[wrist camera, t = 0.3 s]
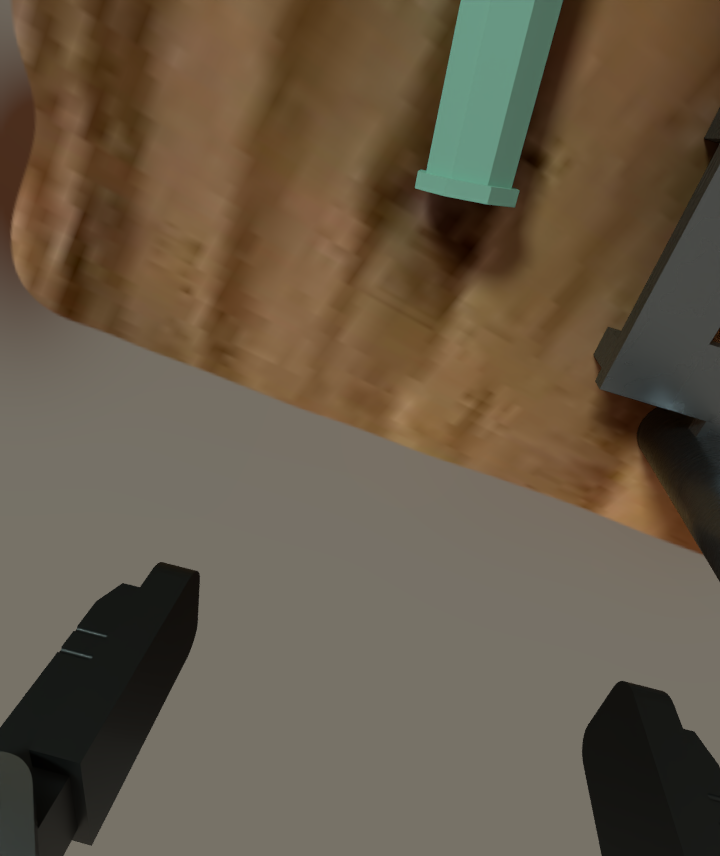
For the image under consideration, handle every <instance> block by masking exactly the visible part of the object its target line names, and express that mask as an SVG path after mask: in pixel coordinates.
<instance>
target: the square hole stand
mask: <svg viewBox="0 0 720 856" xmlns="http://www.w3.org/2000/svg"><path fill="white" fill-rule="evenodd" d="M704 139H708V140H711V141H714V142H718V143H720V108H719V110H718V112H717V114H716V116H715V118H714V120H713V122H712V124H711V126H710V128H709V130H708V132H707V134H706V136H705V138H704ZM719 328H720V144H719V146H718V148H717V150H716V152H715V154H714V156H713V158H712V159H711V161H710V163H709V165H708V167H707V169H706V171H705V173H704V175H703V177H702V178H701V180H700V182H699V184H698V186H697V188H696V190H695V192H694V194H693V196H692V197H691V199H690V201H689V203H688V205H687V207H686V209H685V211H684V213H683V215H682V216H681V218H680V220H679V222H678V224H677V226H676V228H675V230H674V232H673V234H672V235H671V237H670V239H669V241H668V243H667V245H666V247H665V249H664V251H663V253H662V255H661V256H660V258H659V260H658V262H657V264H656V266H655V268H654V270H653V272H652V274H651V275H650V277H649V279H648V281H647V283H646V285H645V287H644V289H643V291H642V293H641V294H640V296H639V298H638V300H637V302H636V304H635V306H634V308H633V310H632V312H631V313H630V315H629V317H628V319H627V321H626V323H625V325H624V327H623V329H622V331H620V330H617V329H613V328H610V327H608V328H607V329H606V331H605V333H604V335H603V337H602V339H601V341H600V343H599V345H598V347H597V349H596V351H595V353H594V357H595V358H596V360H597V361H598V363H599V365H600V366H601V368H602V369H601V371H600V372H599V374H598V376H597V378H596V380H595V382H596V383H597V385H598V387H599V389H601V390H605V391H608V392H611V393H615V394H618V395H621V396H625V397H628V398H631V399H634V400H638V401H641V402H644V403H648V404H651V405H654V406H658V407H657V408H655V409H654V410H652V411H651V412H650V413H649V414H648V415H647V416H646V417H645V418H644V419H643V421H642V422H641V424H640V426H639V428H638V432H637V442H638V445H639V447H640V449H641V451H642V452H643V454H644V456H645V457H646V459H647V461H648V462H649V464H650V466H651V467H652V469H653V471H654V472H655V474H656V476H657V477H658V479H659V481H660V482H661V484H662V486H663V487H664V489H665V491H666V493H667V494H668V496H669V498H670V499H671V501H672V503H673V504H674V506H675V508H676V509H677V511H678V513H679V514H680V516H681V518H682V519H683V521H684V523H685V524H686V526H687V528H688V529H689V531H690V533H691V534H692V536H693V538H694V539H695V541H696V543H697V544H698V546H699V548H700V549H701V551H702V553H703V554H704V556H705V558H706V559H707V561H708V562H709V564H710V566H711V568H712V569H713V571H714V573H715V574H716V576H717V578H718V579H719V581H720V343H717V342H714V341H712V339H713V338H714V336H715V334H716V333H717V331H718V329H719Z"/></svg>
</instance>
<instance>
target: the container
mask: <svg viewBox="0 0 720 856" xmlns="http://www.w3.org/2000/svg"><path fill="white" fill-rule="evenodd" d="M562 2H563V0H461V3H460V8H459V13H458V18H457V22H456V27H455V32H454V37H453V42H452V47H451V52H450V57H449V62H448V67H447V72H446V77H445V82H444V87H443V91H442V96H441V101H440V106H439V111H438V116H437V121H436V126H435V131H434V136H433V141H432V146H431V151H430V156H429V160H428V165H427V170H426V171H425V170H419V171H418V174H417V179H416V185H415V188H416V189H420V190H423V191H427V192H431V193H434V194H438V195H442V196H446V197H451V198H456V199H461V200H467V201H472V202H477V203H482V204H487V205H497V206H506V207H515V205H516V202H517V198H518V195H519V190H518V189H516V188H514V187H512V185H513V181H514V177H515V174H516V170H517V166H518V163H519V159H520V156H521V152H522V148H523V145H524V141H525V137H526V134H527V130H528V126H529V123H530V119H531V115H532V112H533V108H534V105H535V101H536V97H537V94H538V90H539V86H540V83H541V79H542V75H543V72H544V68H545V64H546V61H547V57H548V54H549V50H550V46H551V43H552V39H553V35H554V32H555V28H556V24H557V21H558V17H559V13H560V10H561V6H562Z"/></svg>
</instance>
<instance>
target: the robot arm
mask: <svg viewBox="0 0 720 856" xmlns="http://www.w3.org/2000/svg"><path fill="white" fill-rule="evenodd" d="M199 584H200V575H199V572H198V571H195V570H191V569H186V568H182V567H179V566H175V565H171V564H167V563H163V562H160V563H158V564H157V565H156V566H155V567H154V568H153V570H152V571H151V572H150V574H149V575H148V577H147V578H146V580H145V581H144V582H143V584H142V585H141V587H136V586H132V585H128V584H124V583H122V584H121V585H120V586H118V587H116V588H115V589H114V590H112V591H111V592H109V593H108V594H106V595H105V596H103V597H102V598H100V599H99V600H98V601H96V603H95V604H94V605H93V606H92V608H91V609H90V610H89V612H88V613H87V614H86V616H85V617H84V618H83V620H82V621H81V622H80V624H79V625H78V627H77V630H76V631H73V633H72V634H71V635H70V637H69V638H68V639H67V640H66V642H65V643H64V644H63V646H62V649H61V651H60V652H57V654H56V655H55V656H54V658H53V659H52V660H51V662H50V663H49V664H48V666H47V667H46V668H45V669H44V671H43V672H42V673H41V675H40V676H39V677H38V679H37V680H36V681H35V683H34V684H33V685H32V687H31V688H30V689H29V690H28V692H27V693H26V694H25V696H24V697H23V699H22V700H21V701H20V703H19V704H18V705H17V706H16V708H15V709H14V710H13V711H12V713H11V714H10V715H9V717H8V718H7V719H6V721H5V722H4V723H3V725H2V726H1V727H0V856H63V855H64V853H65V852H66V849H67V848H68V846H69V844H70V842H71V840H74V841H77V842H81V843H84V844H88V845H92V844H93V842H94V839H95V838H96V836H97V834H98V832H99V830H100V828H101V826H102V824H103V822H104V820H105V818H106V816H107V814H108V812H109V810H110V808H111V807H112V805H113V802H114V801H115V799H116V797H117V795H118V793H119V791H120V789H121V787H122V785H123V783H124V781H125V779H126V777H127V775H128V773H129V771H130V769H131V767H132V765H133V763H134V761H135V759H136V757H137V755H138V753H139V751H140V749H141V747H142V745H143V744H144V741H145V740H146V738H147V735H148V734H149V732H150V730H151V728H152V726H153V724H154V722H155V720H156V718H157V716H158V714H159V712H160V710H161V708H162V706H163V704H164V702H165V700H166V698H167V696H168V694H169V692H170V690H171V688H172V686H173V684H174V682H175V680H176V679H177V676H178V675H179V673H180V671H181V669H182V667H183V665H184V663H185V661H186V659H187V657H188V655H189V652H190V650H191V647H192V644H193V641H194V638H195V634H196V630H197V623H198V604H199ZM582 757H583V765H584V770H585V775H586V780H587V785H588V790H589V795H590V800H591V805H592V810H593V814H594V820H595V824H596V829H597V834H598V839H599V844H600V849H601V854H602V856H720V767H719V765H718V763H717V762H716V761H715V759H714V758H713V757H712V755H711V754H710V753H709V751H708V750H707V748H706V747H705V746H704V744H703V743H702V742H701V740H700V739H699V737H698V736H697V735H696V733H695V732H693V731H689V730H685V729H683V728H682V725H681V722H680V720H679V717H678V714H677V712H676V709H675V706H674V704H673V702H672V700H671V698H670V697H669V696H668V694H667V693H665V692H663V691H660V690H656V689H652V688H648V687H644V686H640V685H636V684H632V683H628V682H625V681H620V682H618V683H617V684H616V685H615V686H614V687H613V689H612V690H611V692H610V693H609V695H608V696H607V698H606V699H605V701H604V702H603V704H602V705H601V706H600V708H599V709H598V711H597V713H596V714H595V715H594V717H593V718H592V720H591V721H590V723H589V724H588V726H587V728H586V730H585V733H584V738H583V747H582Z"/></svg>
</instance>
